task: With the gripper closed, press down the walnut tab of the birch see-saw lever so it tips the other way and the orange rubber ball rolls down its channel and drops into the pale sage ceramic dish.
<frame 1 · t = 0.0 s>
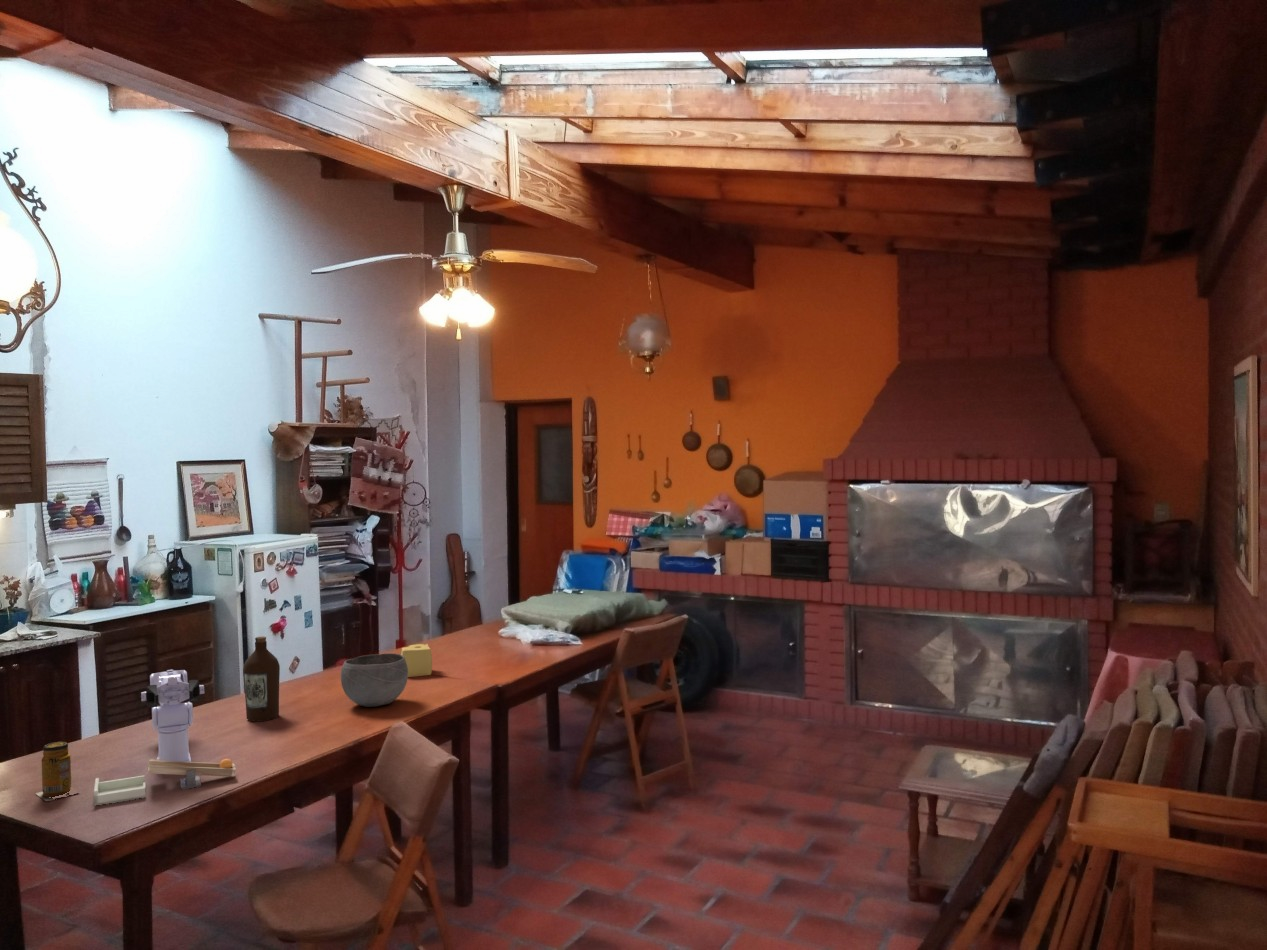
hand: (174, 697, 239), 22 cm above the table, tool horizontal, fingers open, 7 cm apart
dish: (120, 795, 232), on the table
pivot: (190, 783, 239), on the table
ball: (226, 764, 243), point 3 cm above the table, tilted 17°, touching lever
lever: (191, 765, 242), point 4 cm above the table, hinge at -12.0°, touching ball
cheese: (416, 674, 354), on the table
olive oil: (262, 718, 298), on the table
bowl: (375, 705, 311), on the table
condiment: (57, 795, 234), on the table
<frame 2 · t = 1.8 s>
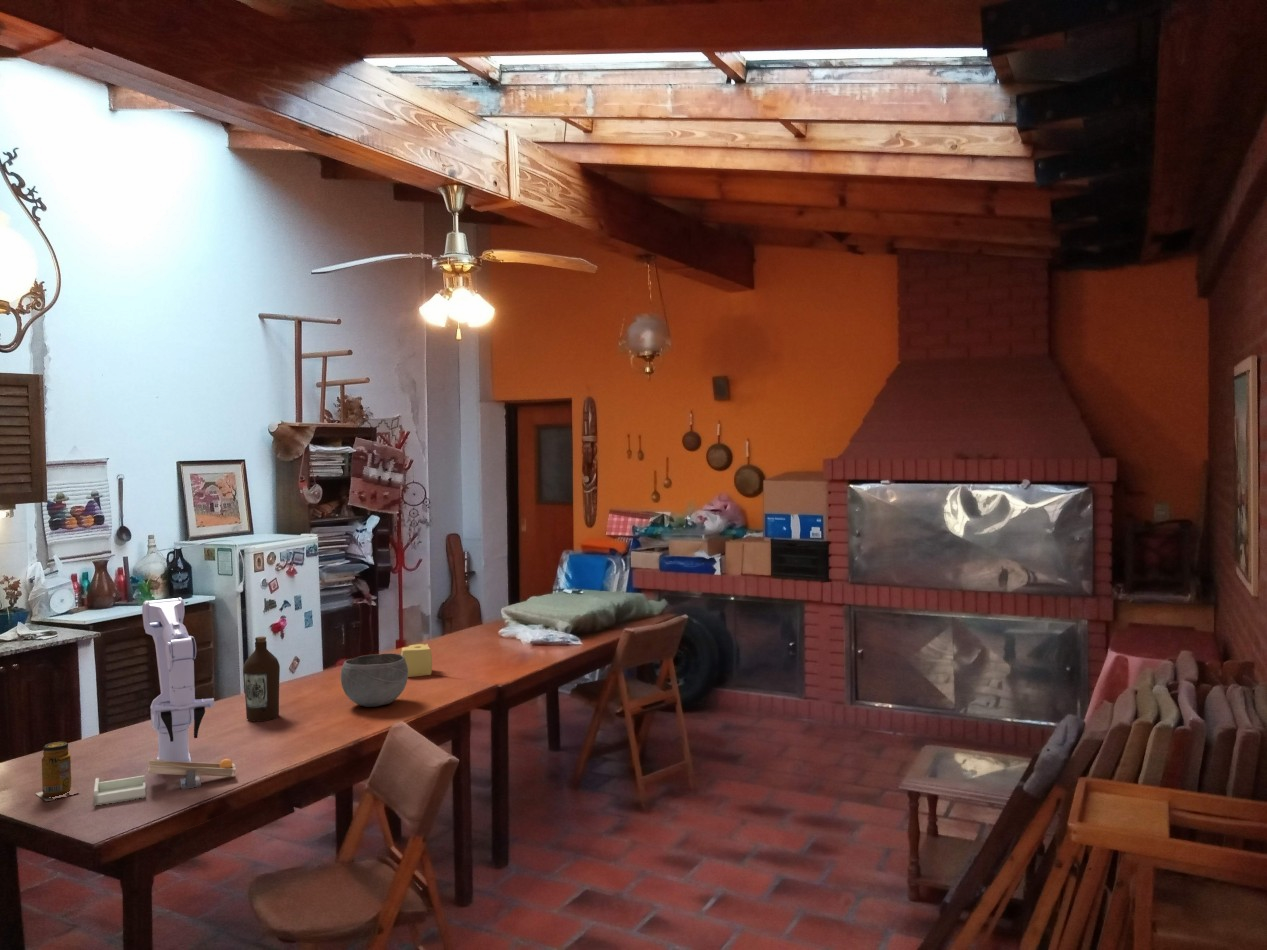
hand: (183, 738, 244), 10 cm above the table, tool pointing down, fingers open, 5 cm apart
nothing on the table moved.
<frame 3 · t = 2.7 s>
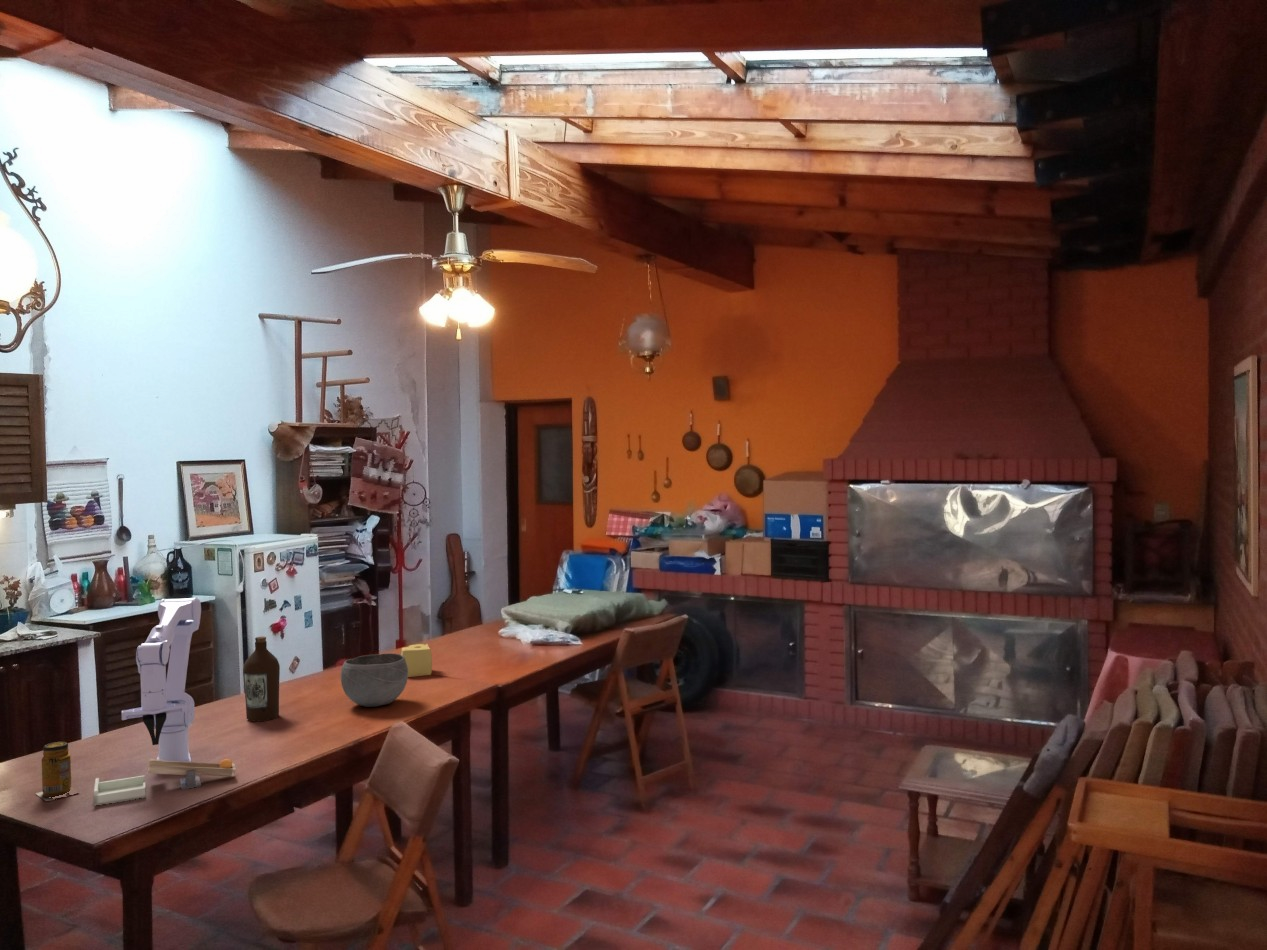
hand: (155, 743, 242), 9 cm above the table, tool pointing down, fingers closed
nothing on the table moved.
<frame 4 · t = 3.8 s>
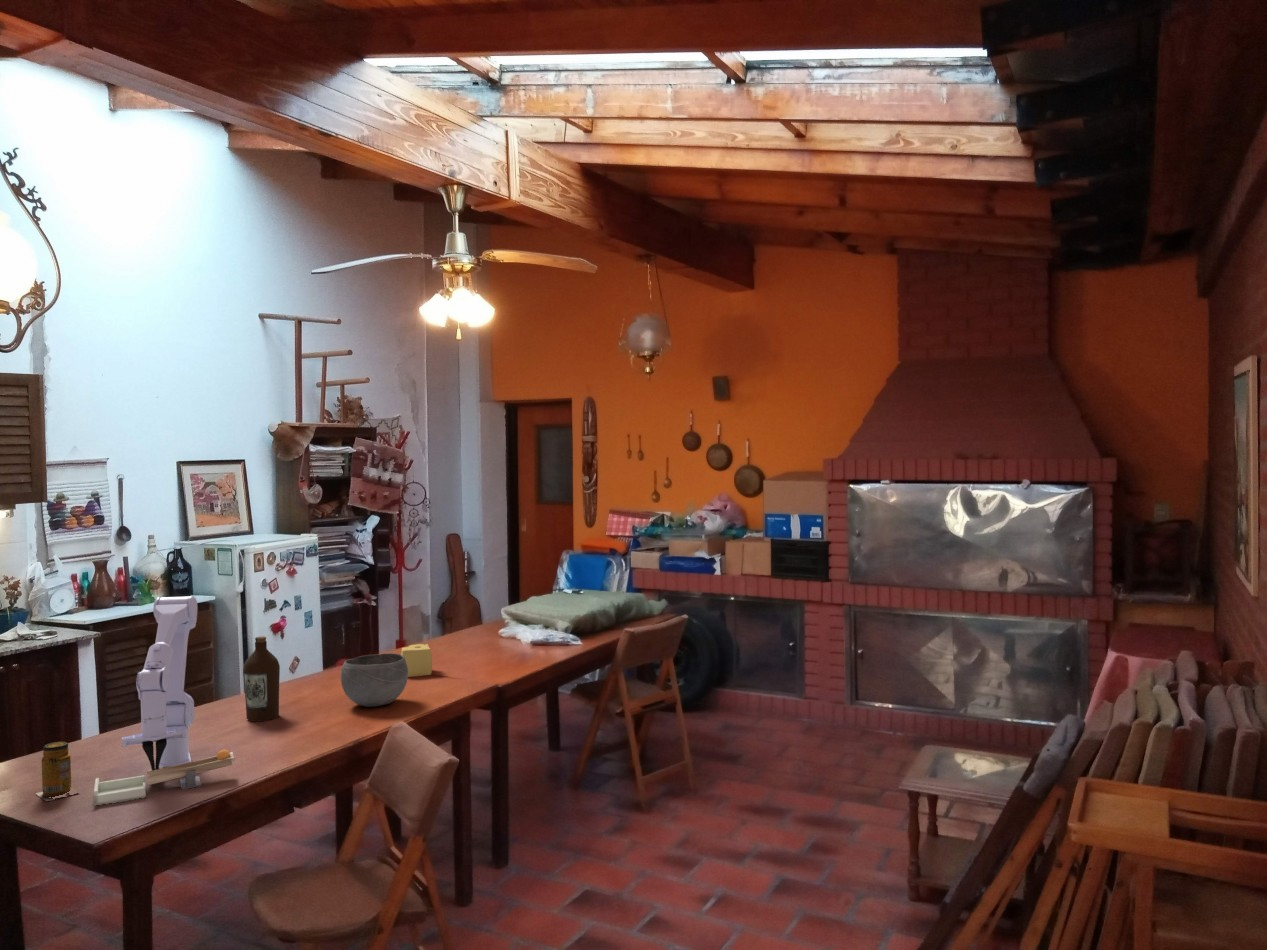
hand: (155, 770, 242), 3 cm above the table, tool pointing down, fingers closed, pressing on lever
ball: (223, 755, 242), point 6 cm above the table, tilted 7°
lever: (190, 765, 242), point 4 cm above the table, hinge at 5.3°, touching gripper
everything else where it was.
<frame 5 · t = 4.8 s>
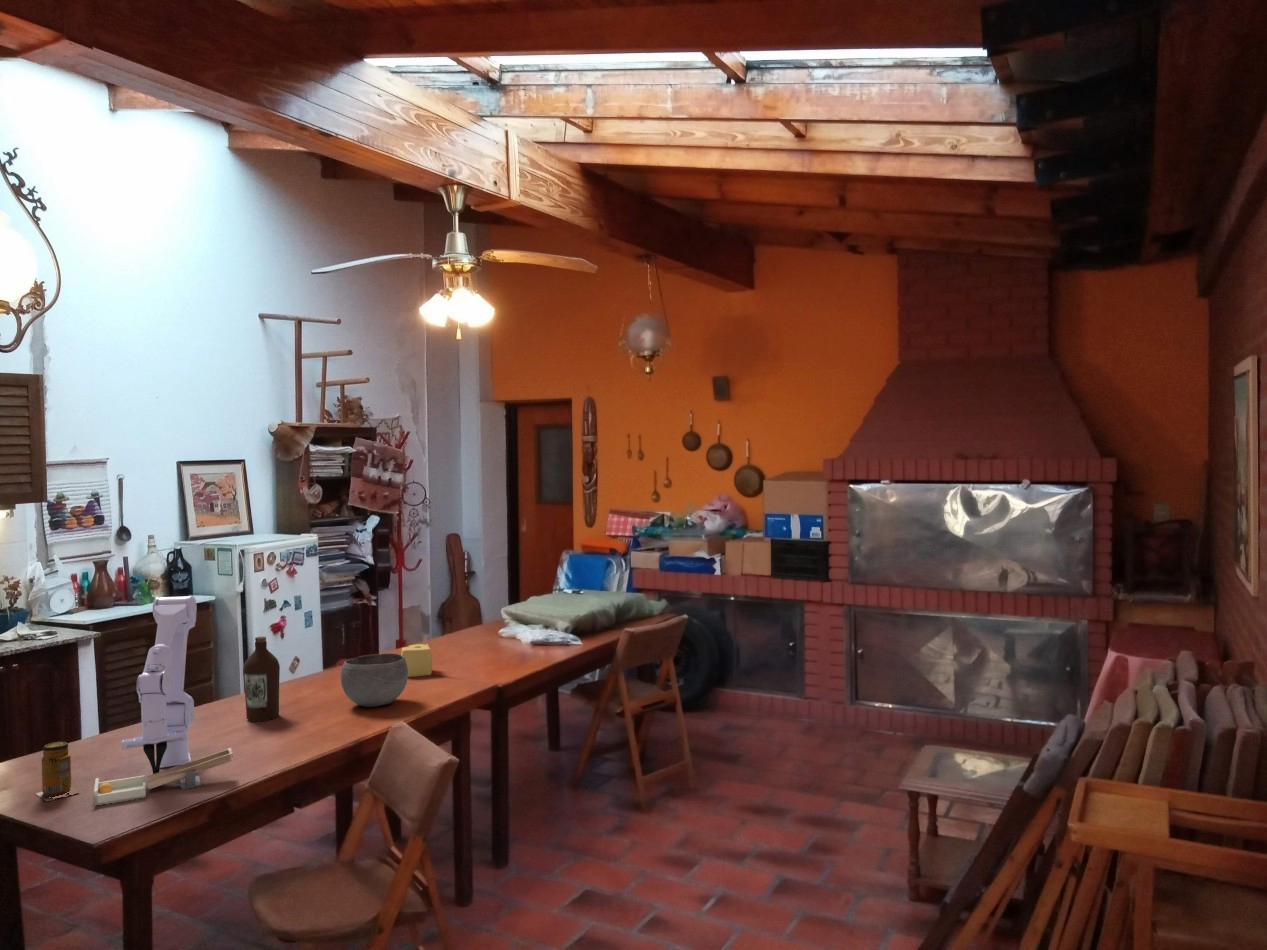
hand: (156, 772, 242), 2 cm above the table, tool pointing down, fingers closed
ball: (105, 789, 230), point 2 cm above the table, tilted 34°, touching dish
lever: (190, 765, 242), point 4 cm above the table, hinge at 11.8°, touching gripper
everything else where it was.
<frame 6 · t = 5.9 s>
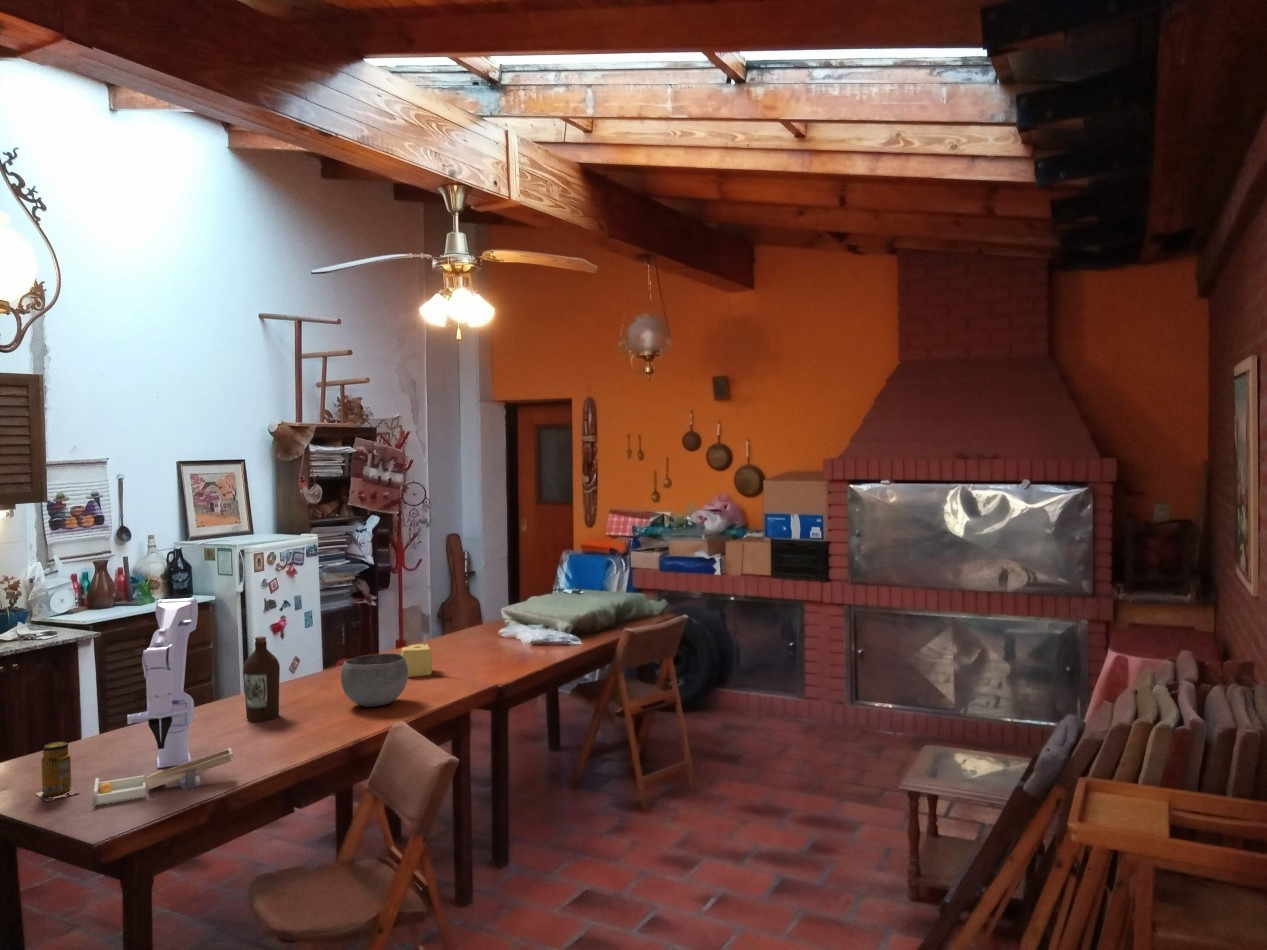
hand: (161, 747, 242), 8 cm above the table, tool pointing down, fingers closed
lever: (190, 765, 242), point 4 cm above the table, hinge at 11.8°
everything else where it was.
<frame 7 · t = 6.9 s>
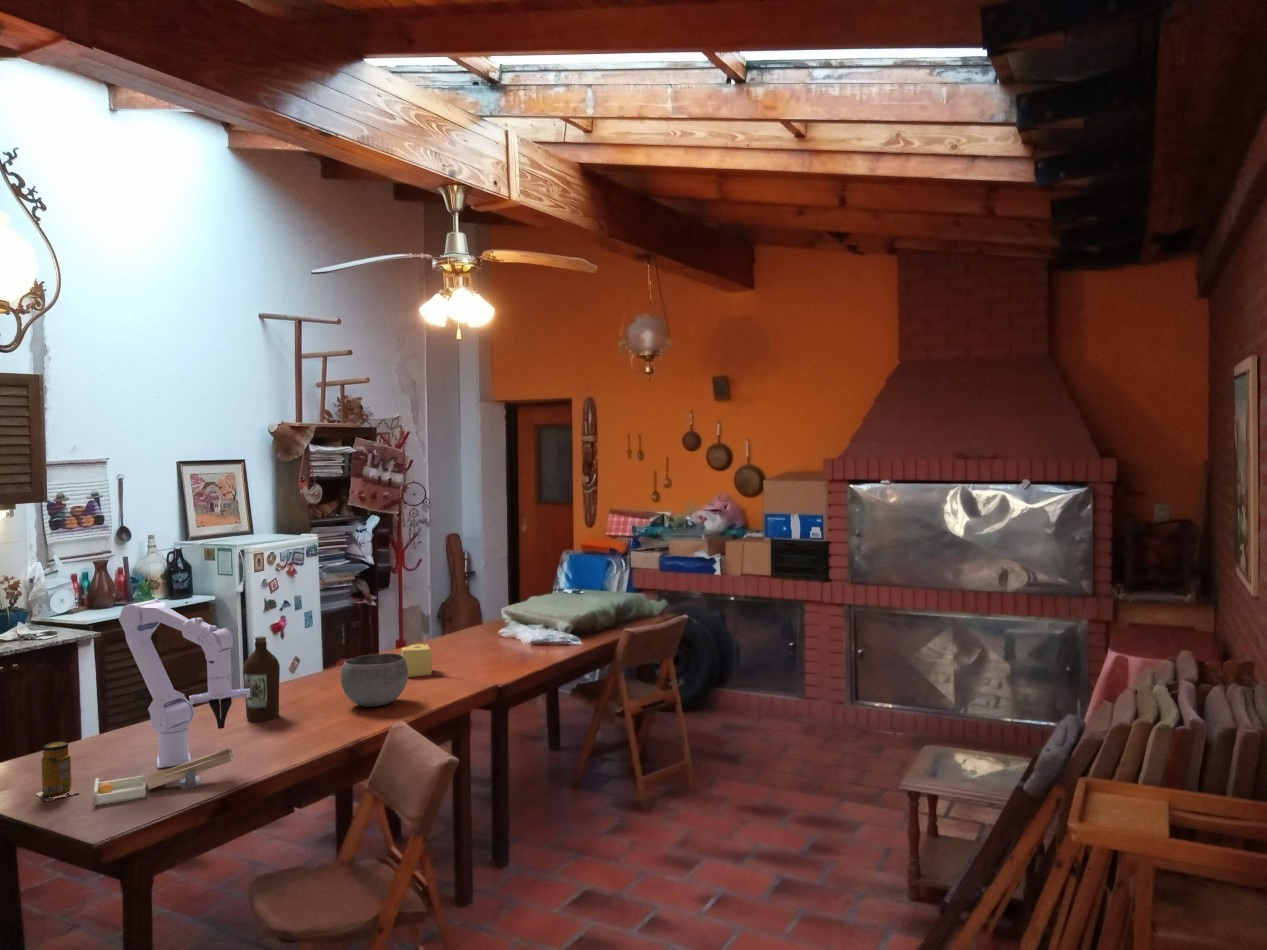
hand: (220, 727, 251), 10 cm above the table, tool pointing down, fingers closed
nothing on the table moved.
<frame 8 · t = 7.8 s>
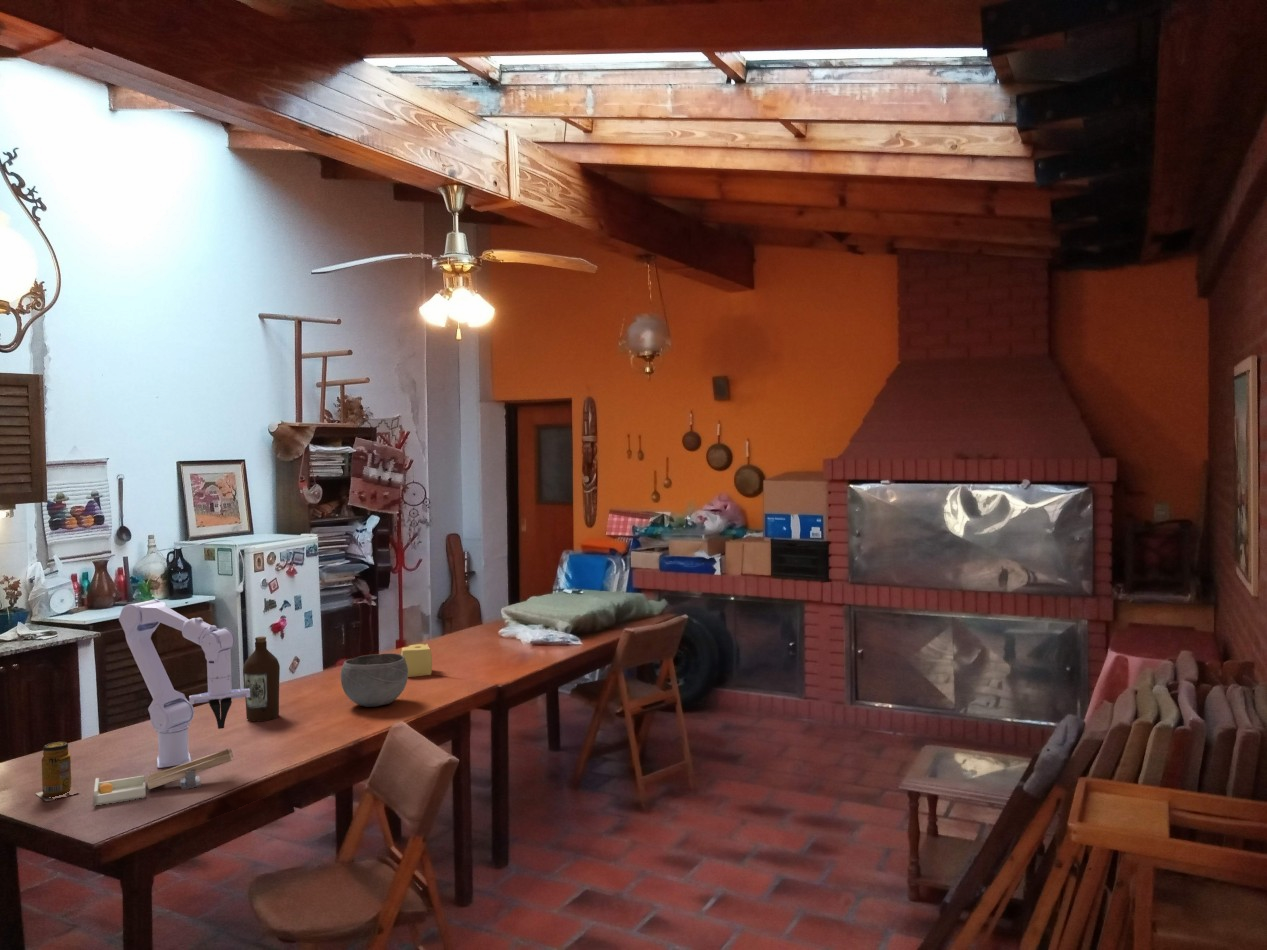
hand: (220, 727, 251), 10 cm above the table, tool pointing down, fingers closed
nothing on the table moved.
at the end: ball inside the target area on the dish (3.1 cm from its centre), point 2.0 cm above the dish's base; lever at +12° (first picture: -12°); ball touching dish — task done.
